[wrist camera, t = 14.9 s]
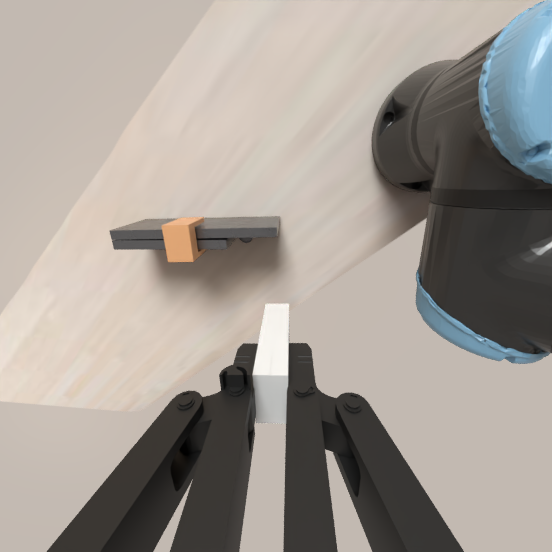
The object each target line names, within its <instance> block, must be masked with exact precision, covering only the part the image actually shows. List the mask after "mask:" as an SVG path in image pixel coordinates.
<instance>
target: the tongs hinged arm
mask: <svg viewBox="0 0 552 552" xmlns="http://www.w3.org/2000/svg"><path fill="white" fill-rule="evenodd" d="M235 239H236V238H196V240H197V247H198V249H228V247H229V246H230V245H231V244H232V243H233V241H234V240H235ZM112 242H113V246H114V249H166V248H165V242H164V239H128V240H112Z"/></svg>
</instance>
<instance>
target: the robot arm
mask: <svg viewBox="0 0 552 552" xmlns="http://www.w3.org/2000/svg"><path fill="white" fill-rule="evenodd" d="M372 150H373V155H374V159H375V162H376V165H377V167H378V169H379V170H380V172H381V173H382V175H383V176H384V177H385V178H386V179H387V180H388V181H389V182H390V183H392V184H393V185H395V186H396V187H398V188H401V189H404V190H407V191H413V192H431V198H430V202H429V209H428V215H427V222H426V228H425V234H424V240H423V246H422V252H421V258H420V265H419V268H418V270H417V273H416V281H417V292H416V305H417V309H418V311H419V312H420V314H421V316H422V318H423V320H424V321H425V322H426V324H427V325H428V326H429V327H430V328H431V329H432V330H434V331H435V332H436V333H437V334H439V335H440V336H441V337H443V338H444V339H446V340H448V341H449V342H451V343H453V344H454V345H456V346H458V347H460V348H462V349H464V350H466V351H469V352H471V353H474V354H476V355H479V356H482V357H485V358H488V359H492V360H497V361H501V360H503V359H507V360H508V361H509V362H511V363H518V364H527V363H533V362H536V361H539V360H541V359H542V358H543V357H546V356H548V355H549V354H550V353H552V0H546V1H543V2H540V3H538V4H536V5H535V6H534V7H533V8H529V9H527V10H526V11H524V12H523V13H521V14H520V15H518V16H517V17H516V18H515V19H513V20H512V21H511V22H510V23H509V24H508V25H507V26H506V27H505V28H503V29H502V30H501V31H499V32H498V33H496V34H495V35H493V36H492V37H491V38H489V39H488V40H486V41H485V42H483V43H482V44H481V45H479V46H478V47H476V48H475V49H473V50H472V51H471V52H469V53H468V54H466V55H465V56H463V57H462V58H461V59H459V60H444V61H439V62H435V63H432V64H429V65H427V66H424V67H422V68H420V69H419V70H417V71H415V72H414V73H412V74H411V75H409V76H408V77H407V78H406V79H405V80H403V81H402V82H401V83H400V84H399V85H398V86H396V87H395V88H394V90H393V91H392V92H391V93H390V94H389V95H388V97H387V98H386V100H385V101H384V103H383V104H382V106H381V108H380V110H379V112H378V115H377V117H376V120H375V124H374V128H373V134H372ZM219 377H220V384H221V391H220V392H218V393H216V394H213V395H210V396H206V397H202V396H201V395H200V394H199V393H198V392H196V391H186V392H183V393H180V394H178V395H177V396H176V397H175V398H174V399H172V401H171V402H170V403H169V404H168V405H167V407H166V408H165V409H164V410H163V411H162V413H161V414H160V415H159V416H158V417H157V419H156V420H155V421H154V422H153V423H152V425H151V426H150V427H149V428H148V430H147V431H146V432H145V433H144V434H143V436H142V437H141V438H140V439H139V440H138V442H137V443H136V444H135V445H134V446H133V448H132V449H131V450H130V451H129V453H128V454H127V455H126V456H125V457H124V459H123V460H122V461H121V462H120V463H119V465H118V466H117V467H116V468H115V470H114V471H113V472H112V473H111V474H110V476H109V477H108V478H107V479H106V481H105V482H104V483H103V484H102V485H101V486H100V488H99V489H98V490H97V491H96V492H95V494H94V495H93V496H92V497H91V499H90V500H89V501H88V502H87V503H86V505H85V506H84V507H83V508H82V510H81V511H80V512H79V513H78V514H77V516H76V517H75V518H74V519H73V520H72V522H71V523H70V524H69V525H68V526H67V528H66V529H65V530H64V531H63V532H62V534H61V535H60V536H59V537H58V539H57V540H56V541H55V542H54V543H53V545H52V546H51V547H50V548H49V550H48V551H47V552H153V551H154V549H155V547H156V545H157V543H158V542H159V540H160V538H161V536H162V534H163V532H164V531H165V529H166V527H167V525H168V523H169V521H170V520H171V518H172V516H173V514H174V512H175V510H176V508H177V507H178V505H179V503H180V501H181V499H182V498H183V496H184V494H185V492H186V490H187V488H188V487H189V485H190V483H191V481H192V479H193V481H192V484H191V487H190V490H189V493H188V496H187V500H186V503H185V506H184V509H183V512H182V515H181V518H180V521H179V525H178V528H177V531H176V534H175V537H174V541H173V544H172V547H171V550H170V552H239V549H240V541H241V534H242V526H243V518H244V511H245V504H246V496H247V489H248V481H249V474H250V467H251V459H252V452H253V444H254V437H255V430H254V423H255V417H256V423H285V424H286V457H285V459H286V460H285V461H286V462H285V506H284V552H337V544H336V535H335V527H334V519H333V511H332V503H331V496H330V487H329V479H328V471H327V463H326V454H325V449H326V450H329V451H332V452H333V453H334V456H335V459H336V461H337V464H338V467H339V469H340V472H341V474H342V477H343V479H344V482H345V484H346V487H347V489H348V492H349V494H350V497H351V499H352V502H353V504H354V507H355V509H356V512H357V514H358V517H359V519H360V522H361V524H362V527H363V529H364V532H365V534H366V537H367V539H368V542H369V544H370V547H371V549H372V552H464V551H463V549H462V548H461V546H460V545H459V543H458V542H457V540H456V539H455V537H454V535H453V534H452V532H451V531H450V529H449V528H448V526H447V525H446V523H445V522H444V520H443V518H442V517H441V515H440V514H439V512H438V511H437V509H436V508H435V506H434V504H433V503H432V501H431V500H430V498H429V497H428V495H427V493H426V492H425V490H424V489H423V487H422V486H421V484H420V483H419V481H418V480H417V478H416V476H415V475H414V473H413V472H412V470H411V469H410V467H409V465H408V464H407V462H406V461H405V459H404V458H403V456H402V455H401V453H400V451H399V450H398V448H397V447H396V445H395V444H394V442H393V440H392V439H391V437H390V436H389V435H388V433H387V431H386V430H385V428H384V427H383V425H382V424H381V422H380V420H379V419H378V417H377V416H376V414H375V413H374V411H373V410H372V408H371V407H370V405H369V403H368V402H367V401H366V400H365V399H364V398H363V397H362V396H360V395H358V394H354V393H344V394H341V395H340V396H339V397H338V398H333V397H330V396H328V395H325V394H324V393H322V392H321V391H320V390H318V388H317V387H316V383H315V376H314V368H313V359H312V351H311V348H310V347H309V346H308V344H306V343H289V304H266V306H265V311H264V316H263V321H262V327H261V332H260V337H259V343H258V344H242V345H241V346H240V348H239V349H238V351H237V354H236V357H235V360H234V364H233V365H231V366H228V367H226V368H225V369H223V370H222V371H221V373H220V375H219Z"/></svg>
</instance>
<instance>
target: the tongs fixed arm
mask: <svg viewBox="0 0 552 552" xmlns="http://www.w3.org/2000/svg"><path fill="white" fill-rule="evenodd" d="M174 220H177V219H145V220H142V221H139V222H136V223H132V224H129V225H126V226H123V227H119V228H116V229H113V230H110V234H111V238H112V240H128V239H164V237H163V232H162V225H164V224H167V223H169V222H172V221H174ZM279 226H280V217H236V218H204V222H203V223H201V224H199V225H197V226H196V227H195V233H196V238H240V240H241V241H242V242H244V243H248V242H250V241H251V240H252V238H253V237H277V235H278V230H279Z"/></svg>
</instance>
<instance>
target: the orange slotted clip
mask: <svg viewBox="0 0 552 552" xmlns="http://www.w3.org/2000/svg"><path fill="white" fill-rule="evenodd" d="M203 222H204V217H192V218H179V219H177V220H174V221H172V222H169V223H167V224H164V225H162V232H163V237H164V242H165V248H166V253H167V259H168V262H194V261H195V260H196V259H197V258H198V257H199V256H201V255H202V254H203V253H204V252H205V251H206V250H207V249H198V247H197V240H196V233H195V227H196V226H197V225H199V224H201V223H203Z"/></svg>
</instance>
